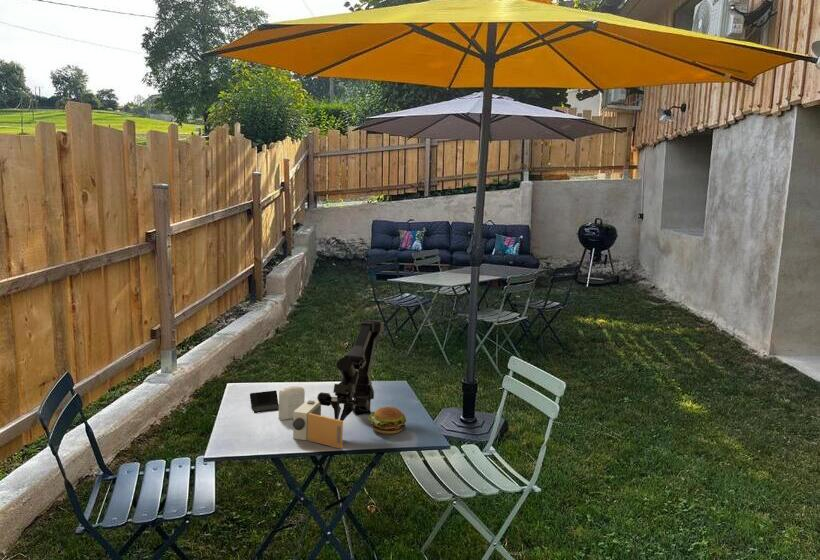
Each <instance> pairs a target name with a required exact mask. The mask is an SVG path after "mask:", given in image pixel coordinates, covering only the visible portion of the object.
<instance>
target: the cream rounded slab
mask: <svg viewBox="0 0 820 560" xmlns="http://www.w3.org/2000/svg"><path fill="white" fill-rule="evenodd" d="M305 396H306V395H305V388H304V387H303V386H299V385H293V386H288V387H283V388H281V389H280V390H279V391H278V404H279V410H278V419H279V420H280V421H282V420H284V421H285V420H289V419H290V420H291V419H293V415H294V411H295V410H296V409H297V408H298V407H300V406H301V405H302V404H303V403H305V402H306V401H305V399H306V397H305Z"/></svg>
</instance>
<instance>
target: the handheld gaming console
mask: <svg viewBox="0 0 820 560" xmlns="http://www.w3.org/2000/svg"><path fill="white" fill-rule="evenodd" d="M249 399H250V400H249V401H250V406H251V407H250V408H251V410H252V412H253V411H254V412H253V413H254V414H258V412H260V413H266V412H268V411H269V412H276V411H279V397H278V393H277V390H269V391H268V390H267V391H260V392H250V393H249Z"/></svg>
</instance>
